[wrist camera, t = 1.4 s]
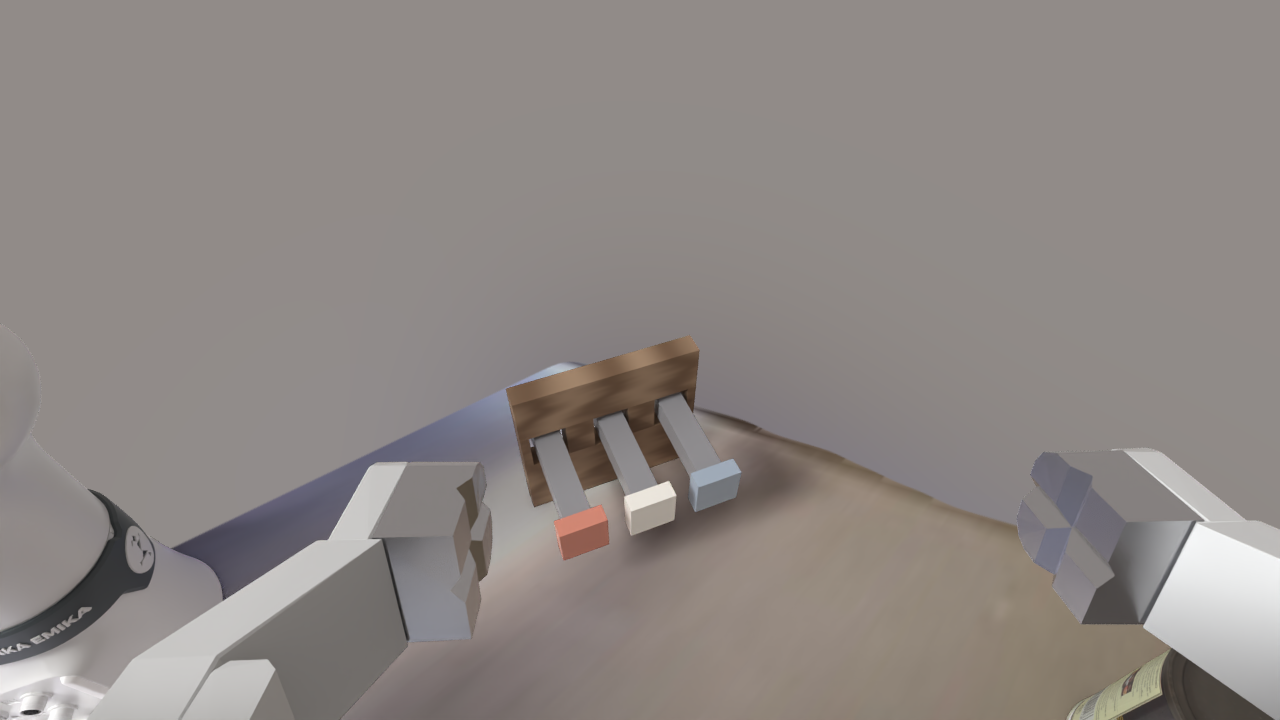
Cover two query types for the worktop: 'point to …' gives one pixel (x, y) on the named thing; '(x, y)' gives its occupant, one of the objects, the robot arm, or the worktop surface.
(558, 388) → the walnut panel
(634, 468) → the off-white plunger
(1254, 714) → the coffee can
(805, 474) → the worktop surface
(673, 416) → the blue-capped grey rod
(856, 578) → the worktop surface
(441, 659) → the worktop surface
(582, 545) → the brick-red plunger
